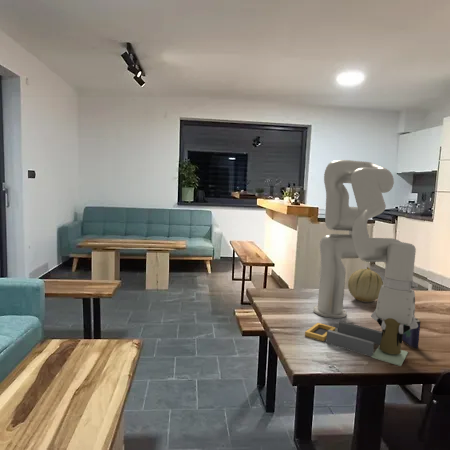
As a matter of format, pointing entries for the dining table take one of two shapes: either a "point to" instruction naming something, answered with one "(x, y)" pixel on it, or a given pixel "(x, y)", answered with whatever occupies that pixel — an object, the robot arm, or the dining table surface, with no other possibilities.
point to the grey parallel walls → (354, 338)
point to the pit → (319, 331)
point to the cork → (390, 337)
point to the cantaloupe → (365, 285)
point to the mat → (390, 356)
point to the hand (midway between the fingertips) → (391, 342)
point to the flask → (412, 336)
